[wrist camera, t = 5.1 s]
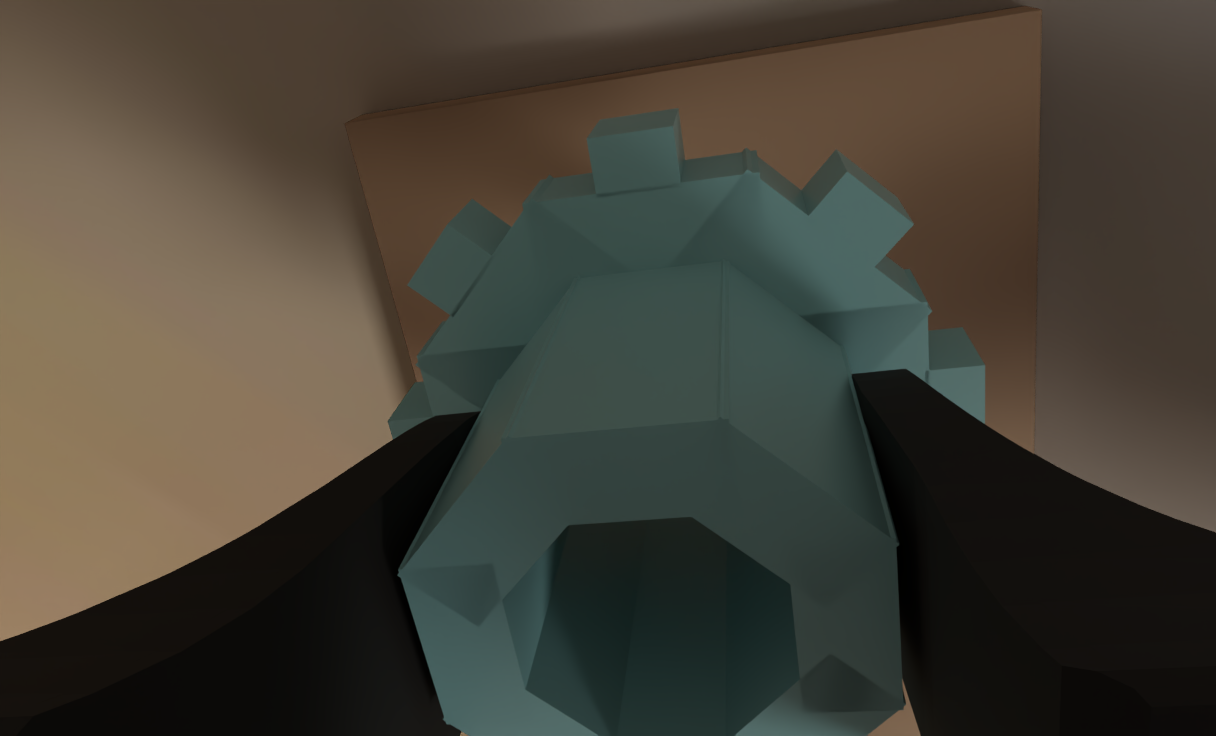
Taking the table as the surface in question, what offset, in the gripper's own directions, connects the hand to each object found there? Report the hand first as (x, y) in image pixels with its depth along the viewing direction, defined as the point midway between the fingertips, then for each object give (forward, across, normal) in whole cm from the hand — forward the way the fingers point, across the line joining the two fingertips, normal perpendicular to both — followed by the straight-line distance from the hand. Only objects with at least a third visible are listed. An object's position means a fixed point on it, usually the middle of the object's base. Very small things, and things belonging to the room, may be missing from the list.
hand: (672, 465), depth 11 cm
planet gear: (+2, 0, 0) cm, 2 cm away
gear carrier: (+9, 0, +8) cm, 12 cm away
